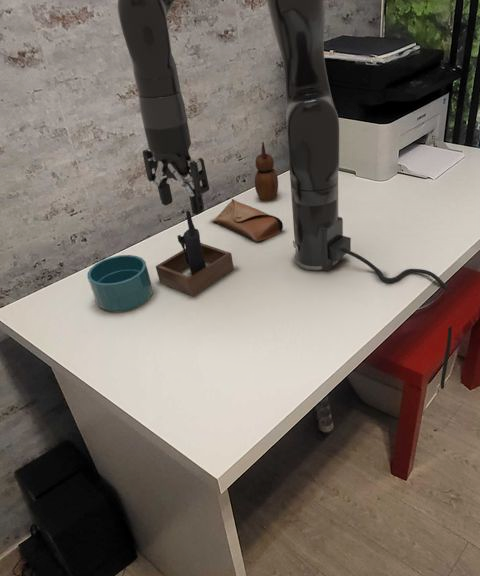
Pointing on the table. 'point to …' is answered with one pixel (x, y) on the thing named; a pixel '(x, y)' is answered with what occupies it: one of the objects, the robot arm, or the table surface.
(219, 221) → the sunglasses case
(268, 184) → the wooden figurine
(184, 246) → the two-way radio
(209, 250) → the wooden frame
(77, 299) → the table surface
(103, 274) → the teal round bowl
